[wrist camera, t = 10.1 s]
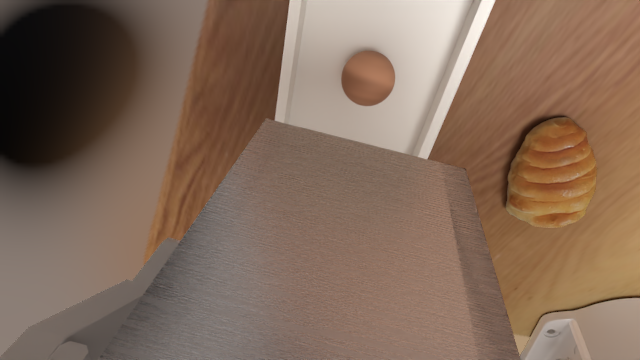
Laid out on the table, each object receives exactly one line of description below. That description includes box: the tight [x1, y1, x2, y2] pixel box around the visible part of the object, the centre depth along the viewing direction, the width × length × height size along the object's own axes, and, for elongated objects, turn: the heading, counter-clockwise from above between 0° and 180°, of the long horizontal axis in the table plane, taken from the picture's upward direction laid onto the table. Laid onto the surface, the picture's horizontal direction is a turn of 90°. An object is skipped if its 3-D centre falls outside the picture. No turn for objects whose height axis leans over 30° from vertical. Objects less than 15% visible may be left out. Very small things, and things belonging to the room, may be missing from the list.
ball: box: [341, 51, 395, 106], centre depth 27 cm, size 4×4×4 cm
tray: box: [275, 0, 495, 159], centre depth 28 cm, size 15×13×3 cm
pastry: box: [506, 117, 597, 228], centre depth 30 cm, size 9×7×4 cm
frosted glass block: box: [98, 119, 520, 360], centre depth 10 cm, size 6×7×9 cm
